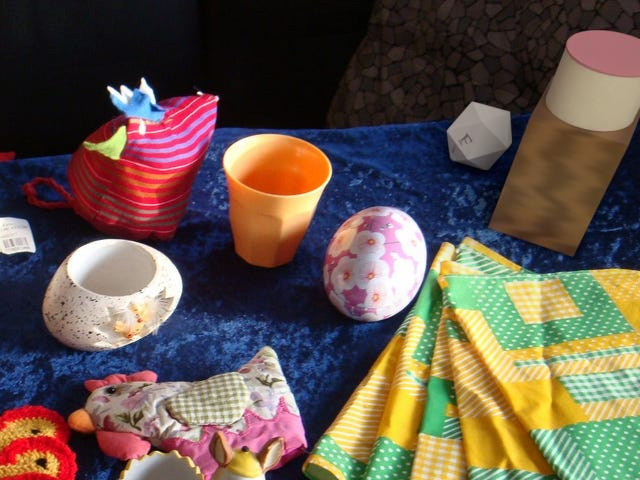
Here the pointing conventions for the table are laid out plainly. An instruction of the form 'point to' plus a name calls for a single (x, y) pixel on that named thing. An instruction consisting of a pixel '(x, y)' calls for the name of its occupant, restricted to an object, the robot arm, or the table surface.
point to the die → (479, 135)
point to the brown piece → (558, 180)
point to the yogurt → (597, 81)
